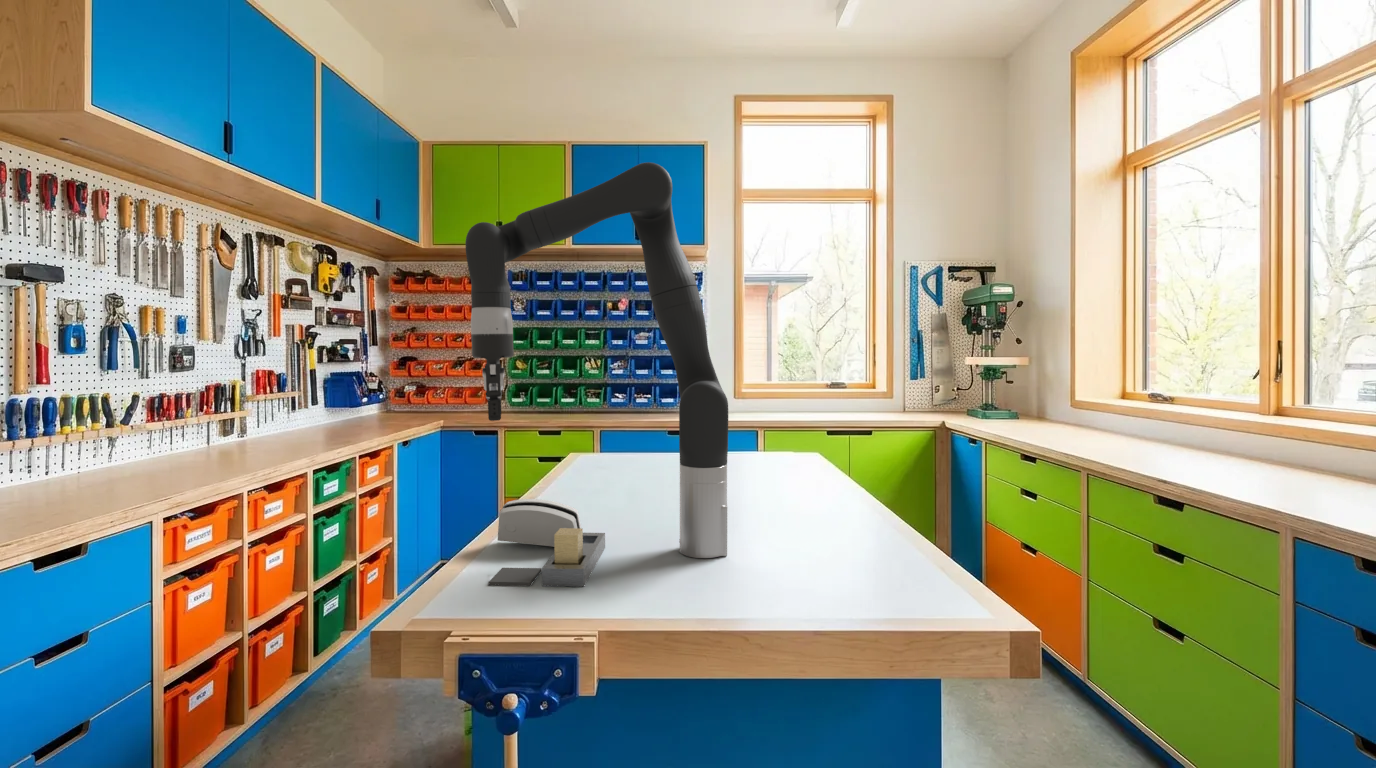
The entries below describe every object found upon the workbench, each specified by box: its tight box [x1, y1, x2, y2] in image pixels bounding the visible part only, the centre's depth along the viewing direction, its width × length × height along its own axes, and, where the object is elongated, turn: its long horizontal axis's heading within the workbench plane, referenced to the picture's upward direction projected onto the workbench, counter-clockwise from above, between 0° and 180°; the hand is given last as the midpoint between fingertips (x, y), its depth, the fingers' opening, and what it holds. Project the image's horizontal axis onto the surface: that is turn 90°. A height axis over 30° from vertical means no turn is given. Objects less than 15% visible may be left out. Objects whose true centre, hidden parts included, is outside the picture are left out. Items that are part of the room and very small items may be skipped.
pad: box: [488, 567, 542, 587], centre depth 109 cm, size 7×7×1 cm
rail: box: [541, 532, 606, 588], centre depth 116 cm, size 7×21×3 cm, turn 178°
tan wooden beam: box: [553, 527, 584, 565], centre depth 110 cm, size 4×4×8 cm
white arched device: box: [497, 498, 582, 547], centre depth 126 cm, size 17×5×10 cm, turn 86°
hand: (495, 418), depth 121 cm, fingers open, 8 cm apart
